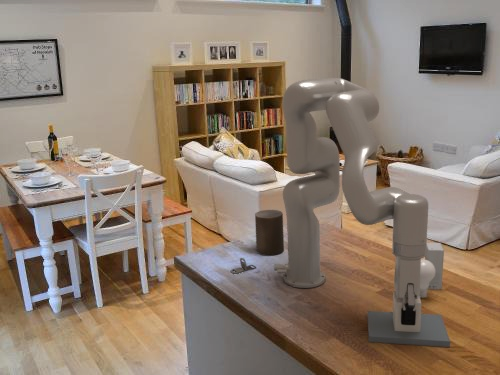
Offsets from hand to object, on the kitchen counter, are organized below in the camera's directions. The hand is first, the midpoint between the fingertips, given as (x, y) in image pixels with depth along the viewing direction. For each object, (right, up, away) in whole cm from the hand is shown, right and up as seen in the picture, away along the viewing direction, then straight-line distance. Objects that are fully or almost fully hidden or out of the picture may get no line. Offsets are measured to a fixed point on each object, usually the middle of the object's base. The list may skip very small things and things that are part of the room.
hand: (406, 316), depth 120 cm
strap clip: (-40, +4, +40) cm, 56 cm away
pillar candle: (-31, +9, +55) cm, 63 cm away
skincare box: (+15, +3, +24) cm, 28 cm away
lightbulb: (+10, +1, +17) cm, 19 cm away
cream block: (0, -2, +1) cm, 2 cm away
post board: (0, -4, +1) cm, 4 cm away
